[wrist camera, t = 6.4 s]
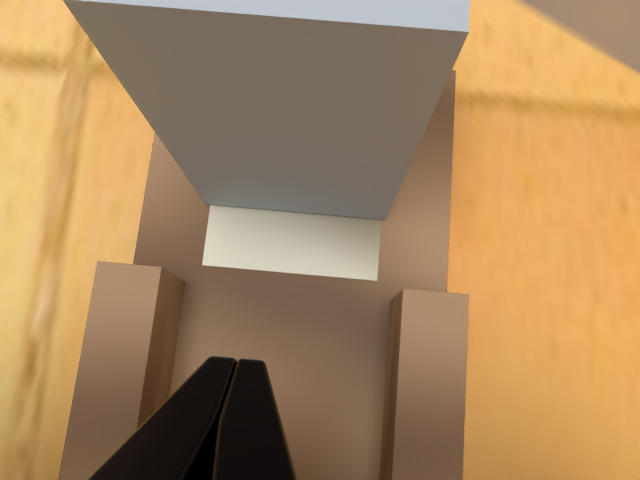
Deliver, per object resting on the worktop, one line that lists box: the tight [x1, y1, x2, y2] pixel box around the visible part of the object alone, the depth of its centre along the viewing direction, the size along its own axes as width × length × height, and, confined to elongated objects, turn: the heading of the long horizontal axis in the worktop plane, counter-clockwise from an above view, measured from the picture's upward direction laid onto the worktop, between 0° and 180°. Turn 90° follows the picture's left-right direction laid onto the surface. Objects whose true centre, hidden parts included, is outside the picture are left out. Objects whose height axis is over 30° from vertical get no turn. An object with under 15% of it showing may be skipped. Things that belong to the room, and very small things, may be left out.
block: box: [63, 0, 470, 220], centre depth 12 cm, size 5×5×9 cm
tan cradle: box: [58, 70, 469, 480], centre depth 15 cm, size 15×9×3 cm, turn 175°
